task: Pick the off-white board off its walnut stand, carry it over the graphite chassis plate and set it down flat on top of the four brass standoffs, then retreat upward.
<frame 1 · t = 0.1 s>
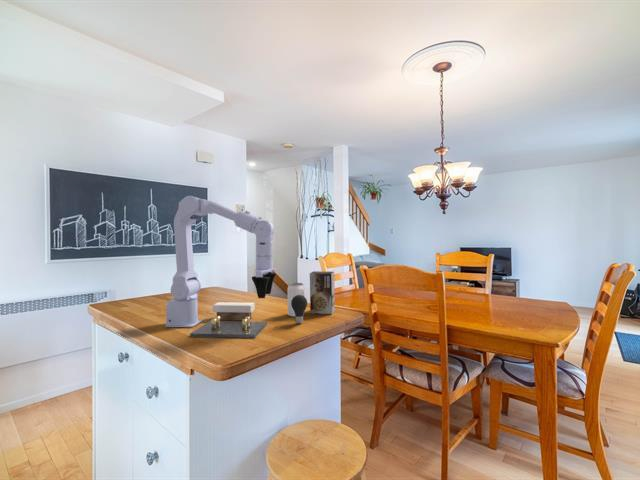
hand: (264, 295, 103), 10 cm above the table, fingers open, 7 cm apart
light bulb: (299, 324, 105), on the table
board: (234, 310, 112), point 3 cm above the table, touching board stand
board stand: (234, 318, 112), on the table
chassis plate: (230, 330, 98), on the table
can: (296, 315, 118), on the table
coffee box: (322, 312, 122), on the table
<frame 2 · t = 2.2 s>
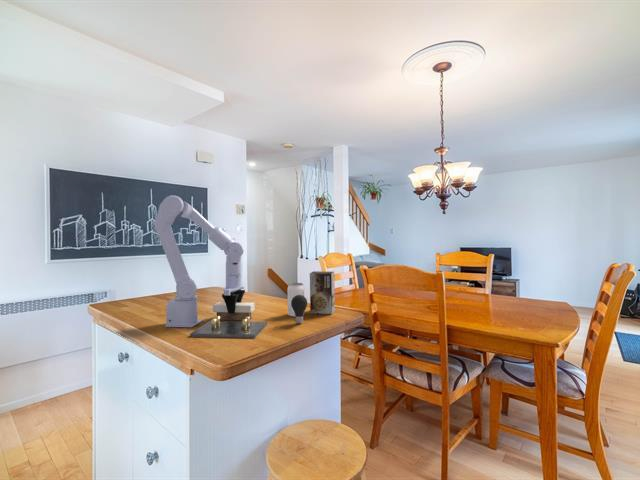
hand: (234, 311, 112), 3 cm above the table, fingers closed on board, 5 cm apart
board: (234, 310, 112), point 3 cm above the table, touching board stand, gripper
everything else where it was.
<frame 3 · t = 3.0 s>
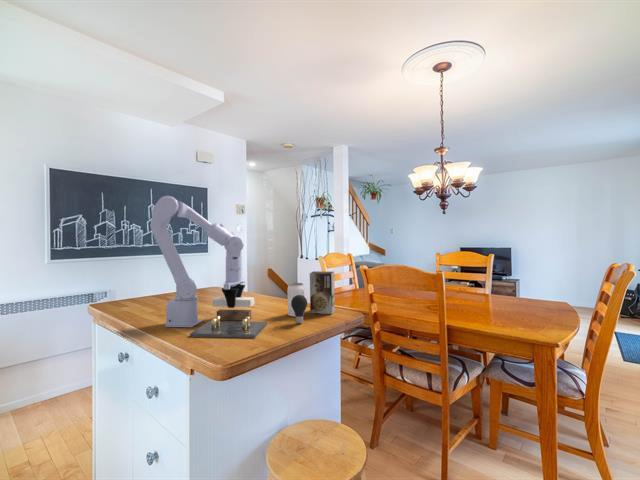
hand: (233, 305, 112), 5 cm above the table, fingers closed on board, 5 cm apart
board: (233, 305, 112), point 5 cm above the table, touching gripper
everything else where it was.
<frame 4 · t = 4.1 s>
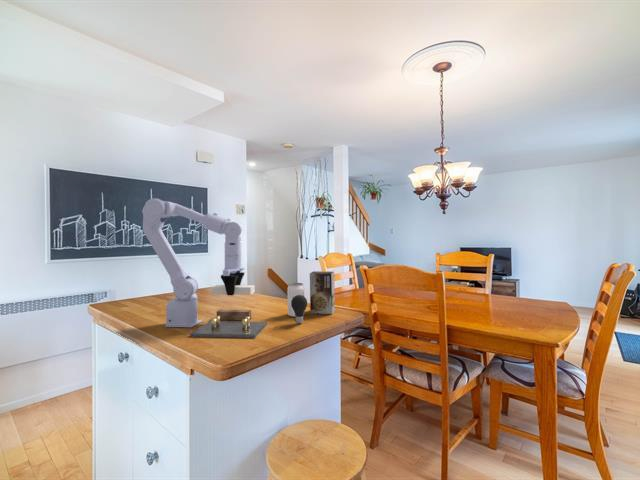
hand: (233, 293, 109), 10 cm above the table, fingers closed on board, 5 cm apart
board: (233, 293, 109), point 10 cm above the table, touching gripper
everything else where it was.
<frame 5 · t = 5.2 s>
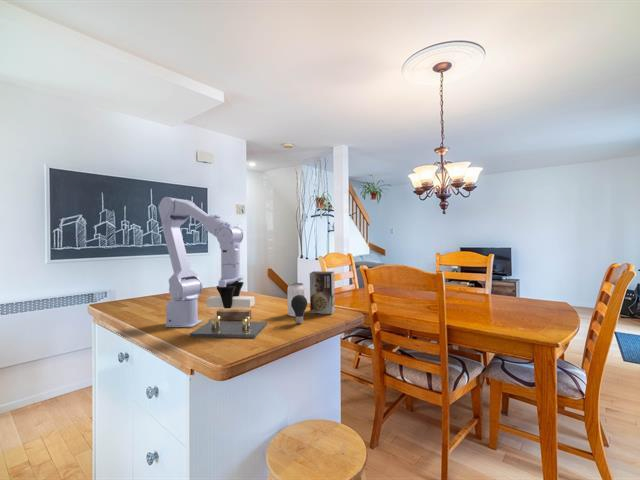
hand: (230, 306, 98), 8 cm above the table, fingers closed on board, 5 cm apart
board: (231, 305, 98), point 8 cm above the table, touching gripper
everything else where it was.
when the fingers open (5 cm above the table, at t = 6.2 s): board stays where it is, resting on chassis plate.
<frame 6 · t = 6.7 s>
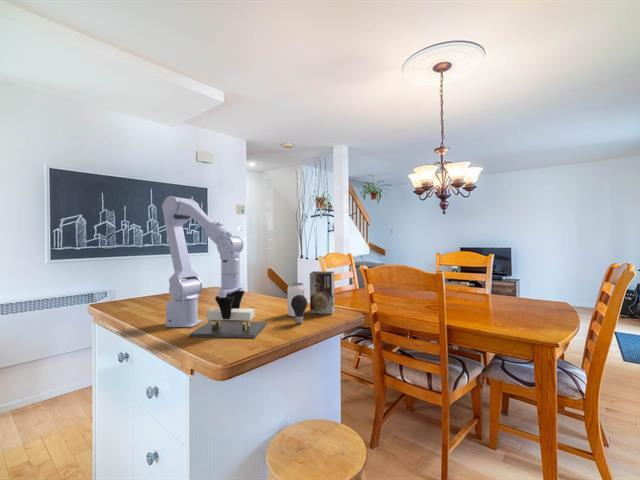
hand: (230, 315, 98), 5 cm above the table, fingers open, 7 cm apart
board: (231, 318, 98), point 4 cm above the table, touching chassis plate
everything else where it was.
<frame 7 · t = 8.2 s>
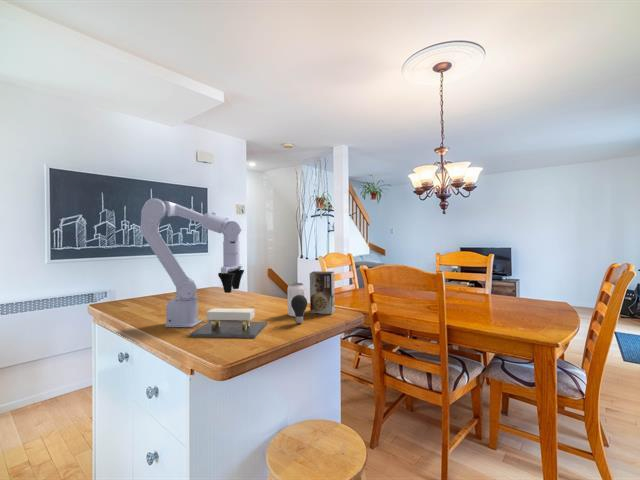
hand: (231, 290, 112), 10 cm above the table, fingers open, 7 cm apart
nothing on the table moved.
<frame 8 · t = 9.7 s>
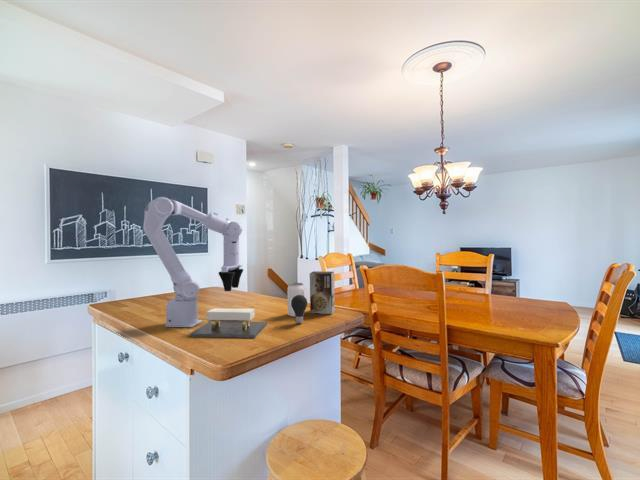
hand: (231, 289, 115), 10 cm above the table, fingers open, 7 cm apart
nothing on the table moved.
at the end: board 0.1 cm off-centre on the chassis plate, point 4.0 cm above the chassis plate's base; board tilted 0°; the gripper is holding nothing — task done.
